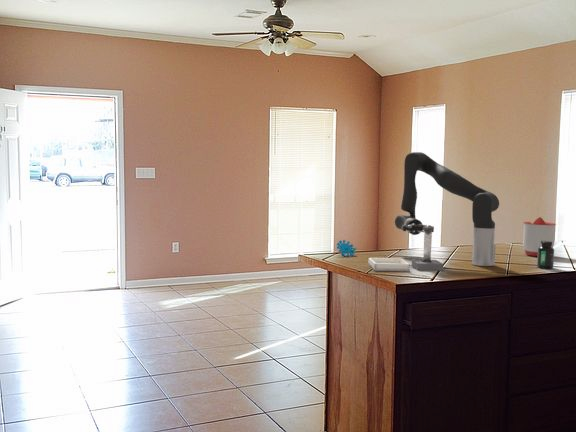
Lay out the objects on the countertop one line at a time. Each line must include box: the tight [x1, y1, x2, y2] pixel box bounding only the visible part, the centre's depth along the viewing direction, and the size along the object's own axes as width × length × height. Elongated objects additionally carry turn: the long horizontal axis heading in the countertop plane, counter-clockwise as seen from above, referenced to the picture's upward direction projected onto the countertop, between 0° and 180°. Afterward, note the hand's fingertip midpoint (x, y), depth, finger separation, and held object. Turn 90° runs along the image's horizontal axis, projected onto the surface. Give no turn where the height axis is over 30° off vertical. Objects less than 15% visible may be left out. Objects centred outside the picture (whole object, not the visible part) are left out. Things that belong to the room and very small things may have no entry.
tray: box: [367, 257, 411, 272], centre depth 270 cm, size 15×17×3 cm
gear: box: [336, 239, 358, 258], centre depth 305 cm, size 11×6×10 cm
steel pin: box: [422, 226, 435, 262], centre depth 270 cm, size 5×5×18 cm
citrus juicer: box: [522, 216, 557, 257], centre depth 319 cm, size 16×17×20 cm
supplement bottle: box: [536, 241, 555, 270], centre depth 279 cm, size 7×7×12 cm
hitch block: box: [410, 258, 444, 272], centre depth 271 cm, size 11×11×3 cm
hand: (421, 230), depth 281 cm, fingers open, 8 cm apart
